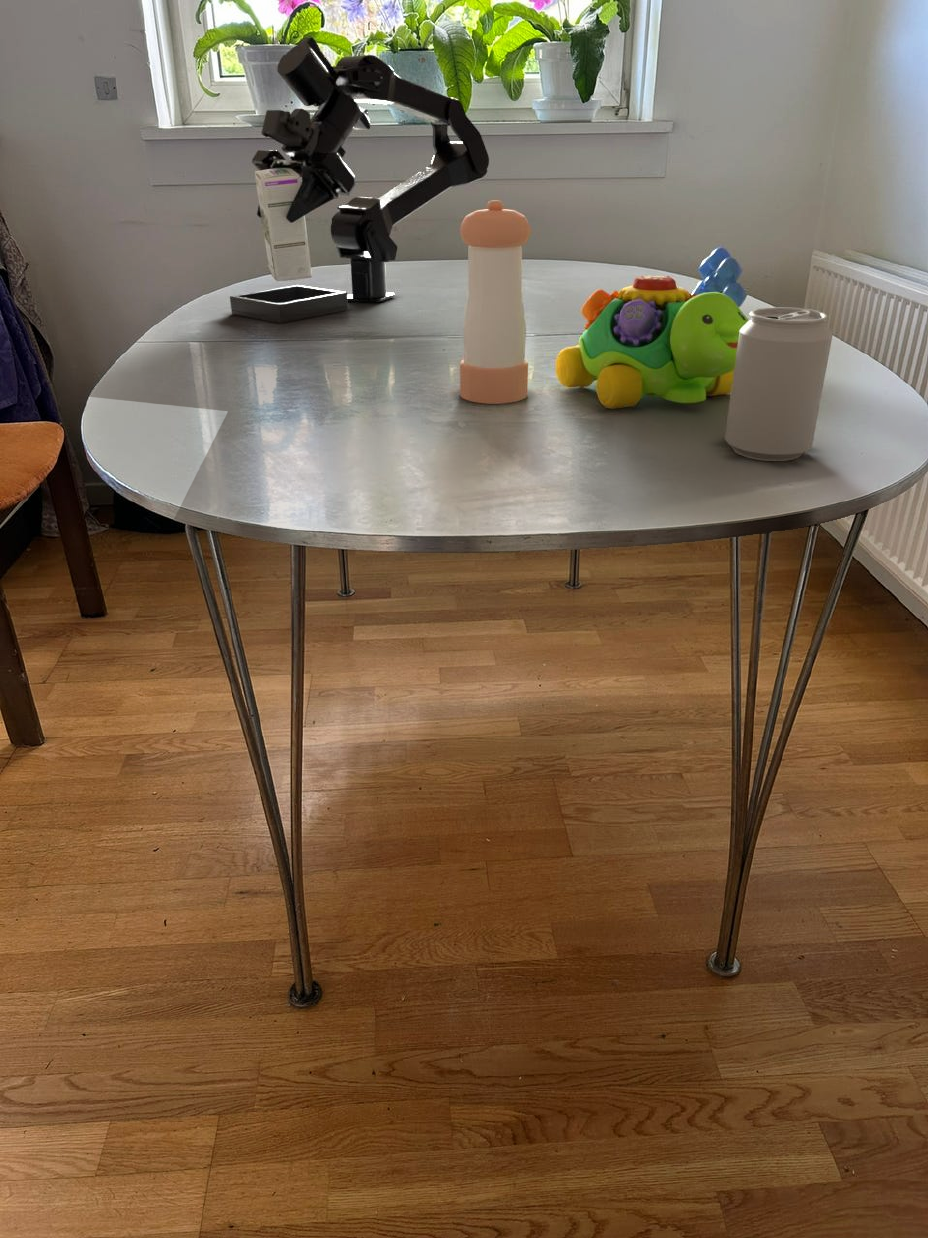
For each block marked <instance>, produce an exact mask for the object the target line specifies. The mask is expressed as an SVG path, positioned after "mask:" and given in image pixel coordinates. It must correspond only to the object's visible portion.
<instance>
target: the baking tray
mask: <svg viewBox="0 0 928 1238" xmlns="http://www.w3.org/2000/svg"><path fill="white" fill-rule="evenodd" d="M347 296H348V292H346V291H341V290H334V289H327V288H321V287H320V288H319V287H315V286H307V285H299V284H296V285H290V286H289V285H288V286H283V287H277V288H271V289H265V290H259V291H253V292H248V293H243V294H235V295H230V296H229V302H230V311H231V315H235V316H241V317H247V318H252V319H257V320H262V321H268V322H273V323H278V324H283V323H289V322H293V321H294V322H295V321H300V320H303V319H308V318H314V317H317V316H318V317H319V316H323V315H328V314H335V313H337V312H338V313H339V312H342V311H343V312H344V311H348V310H349V306H348V305H349V304H348V303H349V300H347Z"/></svg>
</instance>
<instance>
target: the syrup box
mask: <svg viewBox="0 0 928 1238" xmlns="http://www.w3.org/2000/svg"><path fill="white" fill-rule="evenodd" d="M254 176H255V177H254V178H255V183H256V184H255V186H256V192H257V198H258V206H260V213H261V219H260V220H261V227H262V232H263V241H264V246H265V254H266V259H267V267H268V272H269V274H270V275H271V276H272V277H273V279H274V280H275V281H276V282H286V281H287V282H289V281H296V280H304V279H311V278H313V272H312V264H311V256H310V248H309V247H310V246H309V239H308V231H307V224H306V223H307V222H306V215H304V216H303V217H301V218H299V219H298V220H296V221H295V222H293V223H290V222H289V221H288V220H287V219H286V216H287V214H288V211H289V209H290V207H291V204H292V202H293V200H294V198H295V196H296V194H297V192H298V190H299V188H300V186H301V184H302V182H301V177H300V176H299V174H298V173H296V172H295V171H294V170H292V169H291V168H273V169H266V170H261V171H259V170H254Z"/></svg>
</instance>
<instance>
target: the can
mask: <svg viewBox="0 0 928 1238" xmlns="http://www.w3.org/2000/svg"><path fill="white" fill-rule="evenodd" d="M749 316H750V319H749V322H747V323H746V324H745V325H744V326H743V327H742V328H741V329H740V331H739V339H738V346H737V353H736V361H735V368H734V375H733V383H732V390H731V393H730V399H729V404H728V413H727V421H726V427H725V435H724V439H725V441H726V443H727V444H728V445H729V446H730V447H731V448H732V450H733V452H735V453H736V454H737V455H739V456H742V457H745V458H748V459H752V460H756V461H764V462H788V461H793V460H796V459H798V458H800V457H801V456H802V454H804V453H805V452H807V451H809V450H810V449H812V447H813V444H814V437H815V433H816V427H817V421H818V417H819V411H820V406H821V399H822V395H823V389H824V384H825V378H826V374H827V373H826V372H827V369H828V362H829V356H830V351H831V346H832V340H833V333H832V331H831V330H830V328H829V327H828V326H827V324H826V321H828V318H829V316H828V314H826V313H824V312H823V311H819V310H815V309H809V308H802V307H787V306H771V307H760V308H755V309H753V310H751V311H750V312H749Z"/></svg>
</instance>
